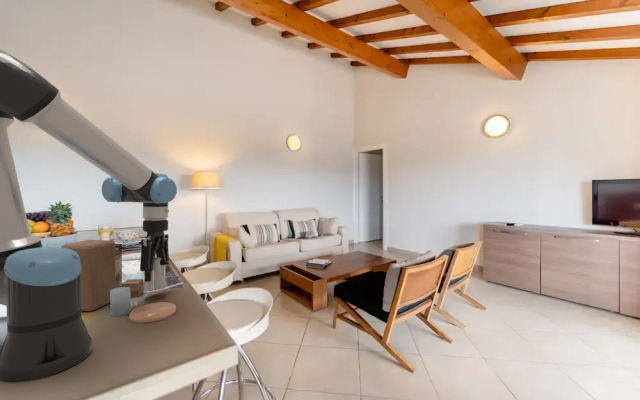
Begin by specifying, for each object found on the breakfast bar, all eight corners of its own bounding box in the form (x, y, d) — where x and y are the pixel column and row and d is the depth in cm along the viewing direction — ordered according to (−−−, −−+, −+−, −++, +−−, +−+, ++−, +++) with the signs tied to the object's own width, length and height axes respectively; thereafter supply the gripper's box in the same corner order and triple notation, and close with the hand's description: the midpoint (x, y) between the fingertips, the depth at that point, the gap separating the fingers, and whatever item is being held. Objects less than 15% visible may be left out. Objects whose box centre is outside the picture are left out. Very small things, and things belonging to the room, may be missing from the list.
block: (117, 300, 99) (116, 239, 98) (91, 312, 89) (90, 245, 88) (89, 299, 100) (88, 239, 99) (60, 311, 90) (59, 244, 89)
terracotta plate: (164, 322, 83) (164, 318, 83) (119, 323, 82) (119, 318, 82) (182, 305, 95) (182, 302, 95) (143, 306, 94) (143, 302, 94)
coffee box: (107, 293, 105) (106, 248, 104) (88, 294, 105) (87, 248, 104) (122, 285, 114) (122, 243, 114) (105, 285, 114) (104, 243, 113)
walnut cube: (138, 297, 102) (138, 283, 102) (121, 298, 101) (121, 283, 101) (143, 292, 107) (143, 278, 107) (128, 293, 106) (127, 279, 106)
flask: (137, 289, 99) (137, 259, 99) (155, 283, 106) (155, 255, 106) (154, 292, 97) (154, 261, 97) (171, 286, 104) (172, 257, 104)
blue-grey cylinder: (124, 316, 87) (123, 292, 86) (106, 316, 87) (106, 292, 86) (134, 309, 92) (133, 286, 91) (117, 309, 92) (117, 286, 91)
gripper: (151, 222, 92) (151, 297, 92) (179, 217, 111) (179, 279, 112) (126, 221, 91) (126, 297, 92) (159, 217, 111) (158, 278, 111)
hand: (155, 287), depth 102 cm, fingers closed on flask, 7 cm apart
